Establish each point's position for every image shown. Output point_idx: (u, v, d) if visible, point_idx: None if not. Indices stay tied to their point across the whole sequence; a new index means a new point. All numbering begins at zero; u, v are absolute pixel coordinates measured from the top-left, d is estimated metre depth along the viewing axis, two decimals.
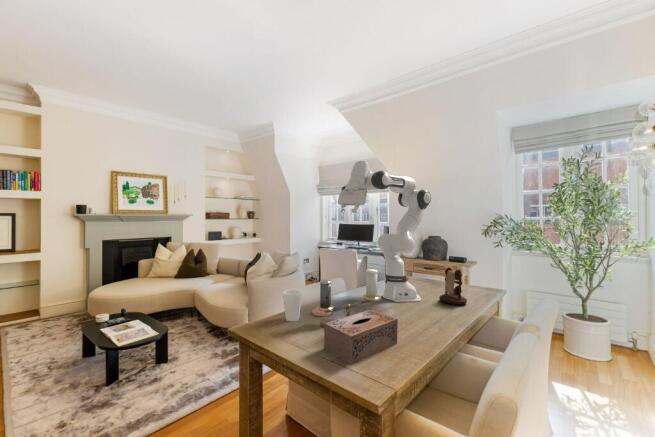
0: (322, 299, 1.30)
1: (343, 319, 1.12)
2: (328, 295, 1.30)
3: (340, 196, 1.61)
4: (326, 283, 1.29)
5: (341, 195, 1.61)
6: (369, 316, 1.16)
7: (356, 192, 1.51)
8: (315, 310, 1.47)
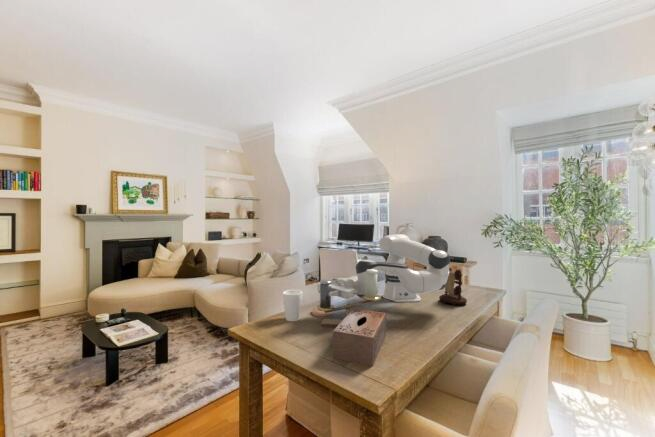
0: (322, 299, 1.30)
1: (344, 323, 1.08)
2: None
3: None
4: (326, 283, 1.29)
5: None
6: (361, 315, 1.17)
7: (347, 287, 1.36)
8: (315, 310, 1.47)
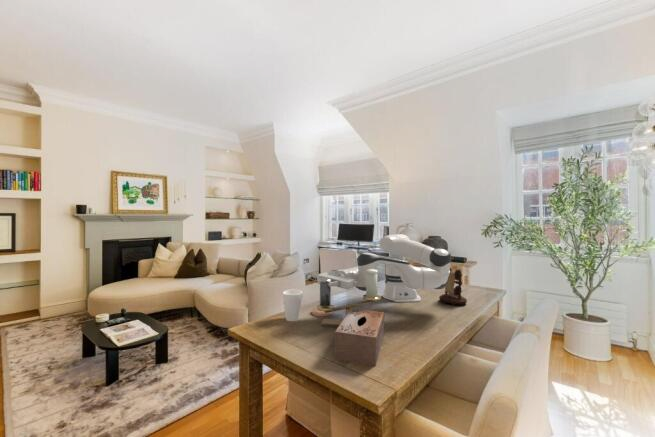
0: (322, 298, 1.30)
1: (344, 323, 1.08)
2: (328, 293, 1.30)
3: (324, 273, 1.43)
4: (326, 281, 1.29)
5: (326, 273, 1.43)
6: (360, 315, 1.17)
7: (346, 277, 1.35)
8: (315, 310, 1.47)
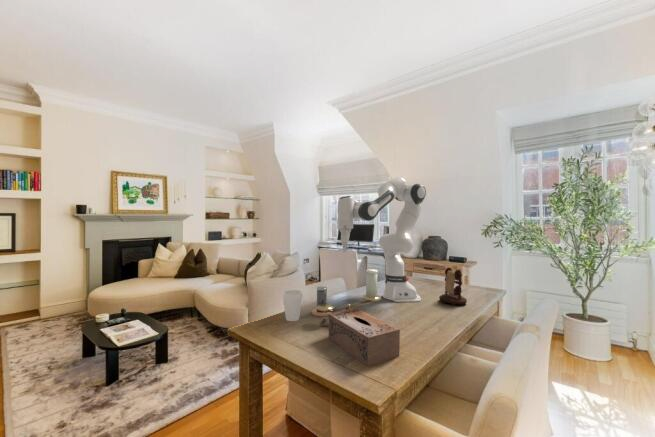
0: (319, 304, 1.44)
1: (357, 328, 1.04)
2: (324, 300, 1.44)
3: None
4: (322, 290, 1.43)
5: None
6: (349, 316, 1.15)
7: None
8: (315, 310, 1.47)
